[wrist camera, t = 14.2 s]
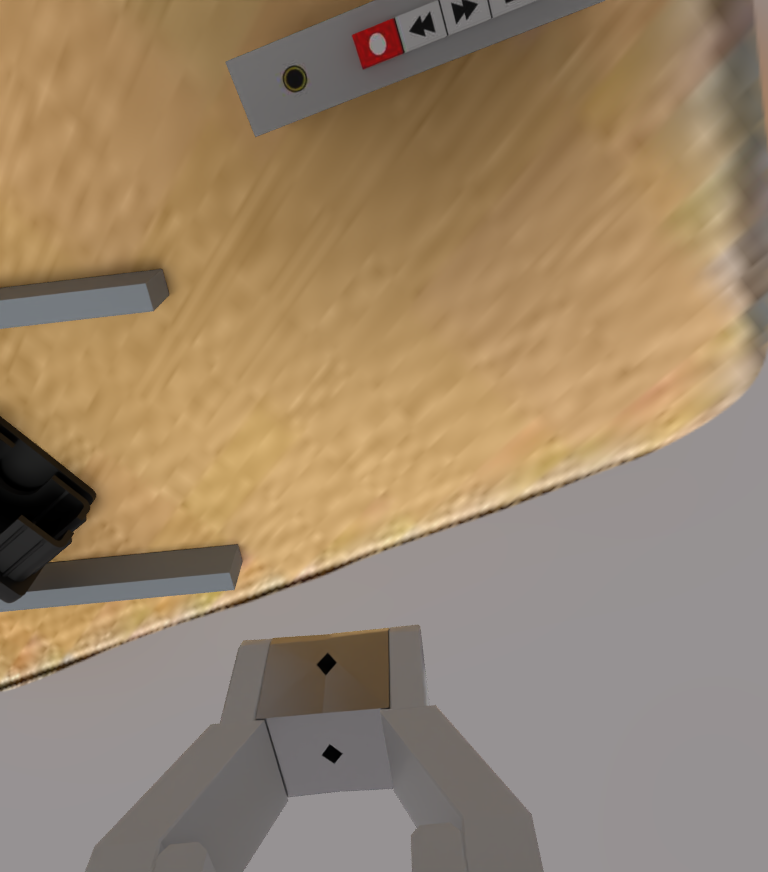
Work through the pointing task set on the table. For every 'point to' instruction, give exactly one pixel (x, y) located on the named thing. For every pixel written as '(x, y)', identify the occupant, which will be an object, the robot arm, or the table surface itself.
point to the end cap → (34, 510)
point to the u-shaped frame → (130, 571)
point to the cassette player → (375, 51)
